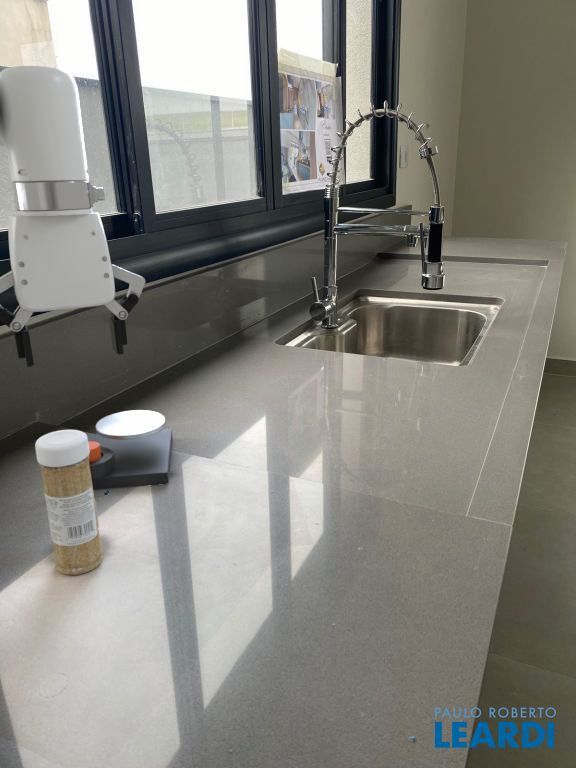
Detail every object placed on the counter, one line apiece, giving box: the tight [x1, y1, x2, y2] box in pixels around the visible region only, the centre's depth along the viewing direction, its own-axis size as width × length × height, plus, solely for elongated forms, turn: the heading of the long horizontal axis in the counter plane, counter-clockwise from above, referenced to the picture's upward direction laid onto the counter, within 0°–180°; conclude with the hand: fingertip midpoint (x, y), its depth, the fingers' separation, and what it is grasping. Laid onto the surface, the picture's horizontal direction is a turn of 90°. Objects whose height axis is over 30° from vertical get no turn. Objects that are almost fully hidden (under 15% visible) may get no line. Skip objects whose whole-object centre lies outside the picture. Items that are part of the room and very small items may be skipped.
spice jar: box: [34, 429, 104, 576], centre depth 57 cm, size 5×5×13 cm
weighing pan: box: [95, 409, 166, 440], centre depth 81 cm, size 9×9×2 cm
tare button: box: [88, 441, 101, 462], centre depth 74 cm, size 3×3×2 cm
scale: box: [86, 428, 174, 491], centre depth 80 cm, size 12×14×4 cm
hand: (75, 357), depth 69 cm, fingers open, 9 cm apart
